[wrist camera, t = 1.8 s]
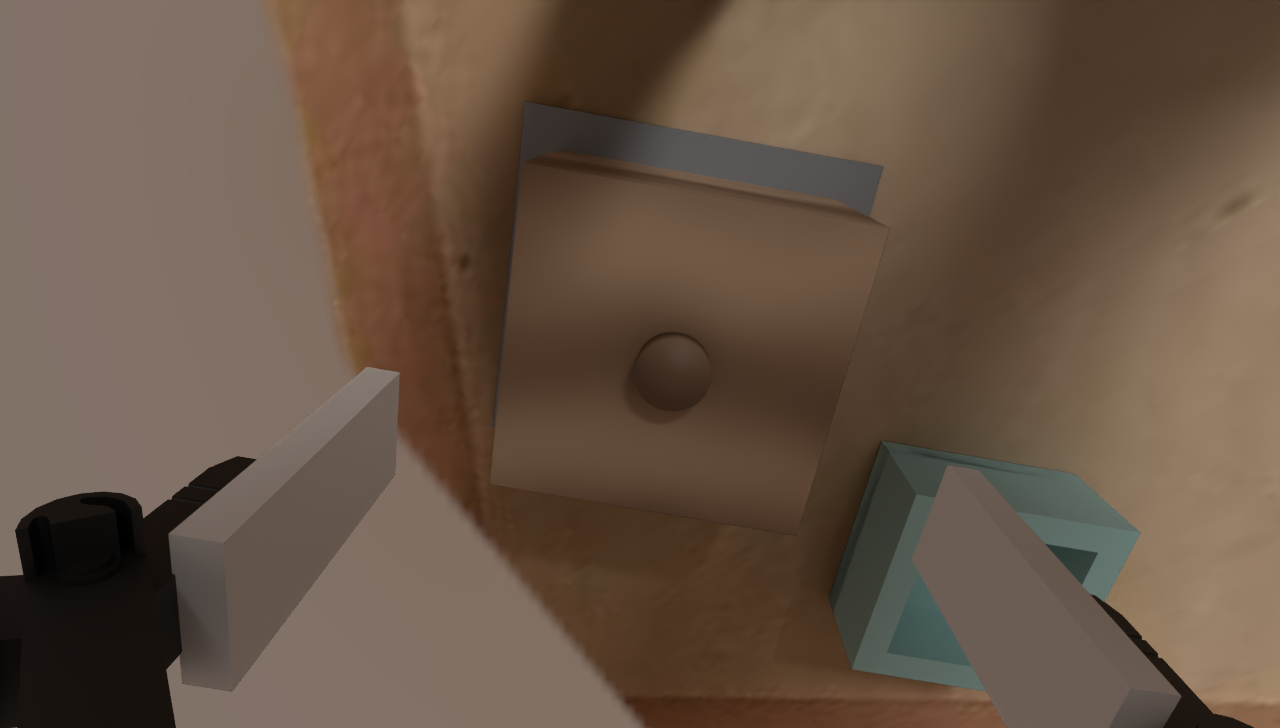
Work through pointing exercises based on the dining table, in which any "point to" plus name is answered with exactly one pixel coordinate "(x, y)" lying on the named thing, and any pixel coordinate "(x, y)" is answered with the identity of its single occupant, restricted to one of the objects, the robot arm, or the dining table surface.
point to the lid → (676, 339)
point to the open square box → (892, 586)
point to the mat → (688, 161)
